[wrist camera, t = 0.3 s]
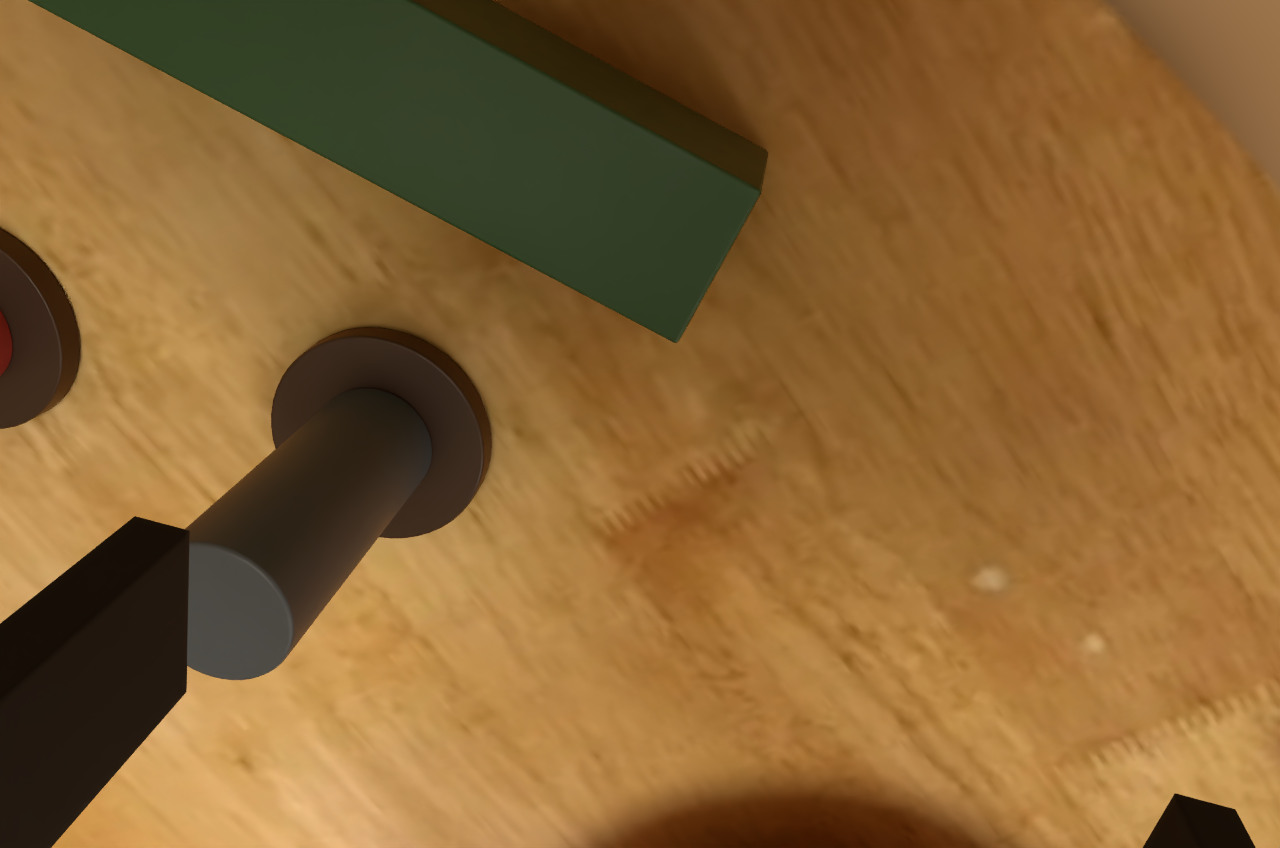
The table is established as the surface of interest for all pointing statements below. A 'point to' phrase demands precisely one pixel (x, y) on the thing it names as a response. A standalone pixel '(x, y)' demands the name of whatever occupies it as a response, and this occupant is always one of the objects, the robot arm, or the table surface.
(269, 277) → the table surface
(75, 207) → the table surface
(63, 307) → the red peg on stand
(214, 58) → the green bar
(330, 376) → the grey cylinder on disc
